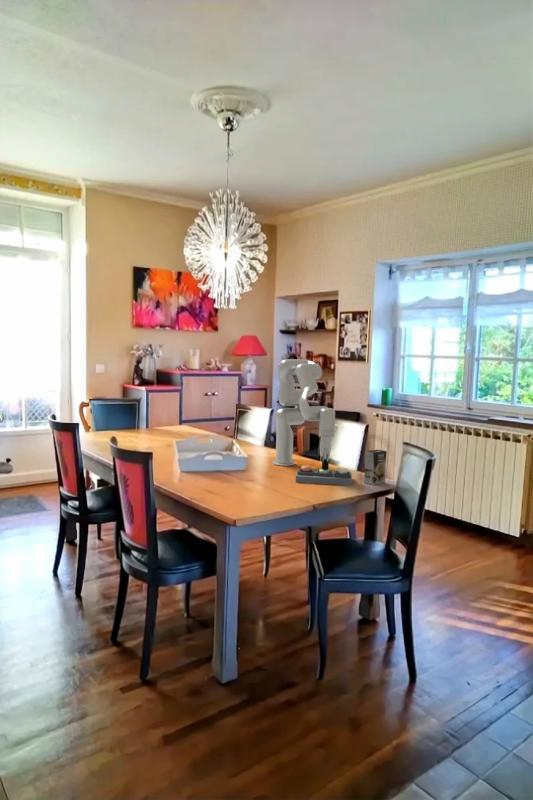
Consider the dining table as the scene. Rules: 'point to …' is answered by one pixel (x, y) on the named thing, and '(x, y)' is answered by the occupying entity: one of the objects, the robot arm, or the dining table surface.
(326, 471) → the sage button
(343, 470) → the cream button
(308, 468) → the terracotta button
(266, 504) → the dining table surface
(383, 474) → the coffee box
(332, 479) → the button panel
